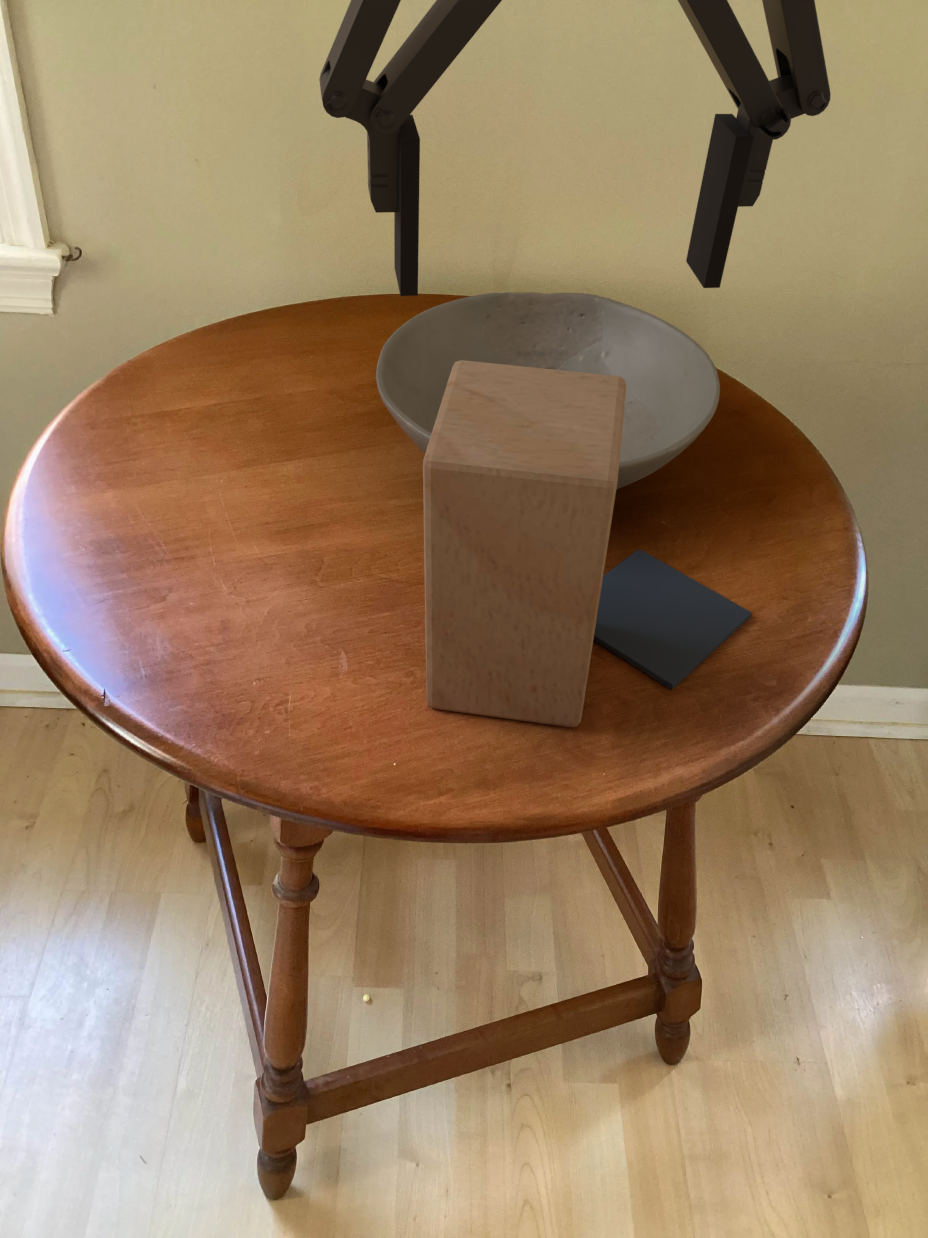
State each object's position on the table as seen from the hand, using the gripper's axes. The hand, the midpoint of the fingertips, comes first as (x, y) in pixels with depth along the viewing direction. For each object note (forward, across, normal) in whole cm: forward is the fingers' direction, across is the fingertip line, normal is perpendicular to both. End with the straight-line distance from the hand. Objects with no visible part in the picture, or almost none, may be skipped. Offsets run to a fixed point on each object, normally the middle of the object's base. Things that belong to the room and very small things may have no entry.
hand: (556, 278), depth 47 cm
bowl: (+30, -8, -29) cm, 42 cm away
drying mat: (+30, -12, -8) cm, 33 cm away
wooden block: (+30, -1, -4) cm, 30 cm away
